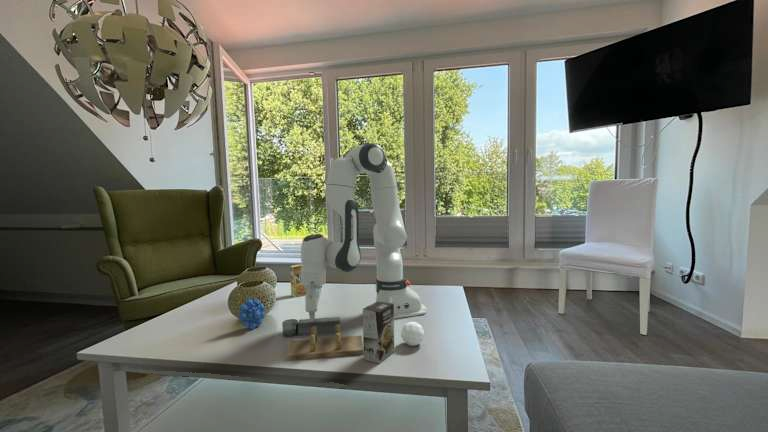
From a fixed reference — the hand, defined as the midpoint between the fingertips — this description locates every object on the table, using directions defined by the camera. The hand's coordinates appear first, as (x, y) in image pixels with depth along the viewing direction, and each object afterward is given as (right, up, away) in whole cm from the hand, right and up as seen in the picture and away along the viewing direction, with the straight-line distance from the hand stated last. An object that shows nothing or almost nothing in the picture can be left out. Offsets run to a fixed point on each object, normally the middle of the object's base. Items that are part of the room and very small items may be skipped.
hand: (313, 315), depth 131 cm
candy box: (-16, -3, +47) cm, 50 cm away
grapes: (-24, -7, +5) cm, 25 cm away
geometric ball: (+36, -7, -11) cm, 38 cm away
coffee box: (+25, -8, -19) cm, 32 cm away
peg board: (+7, -7, -14) cm, 17 cm away
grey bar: (-1, -6, 0) cm, 6 cm away
